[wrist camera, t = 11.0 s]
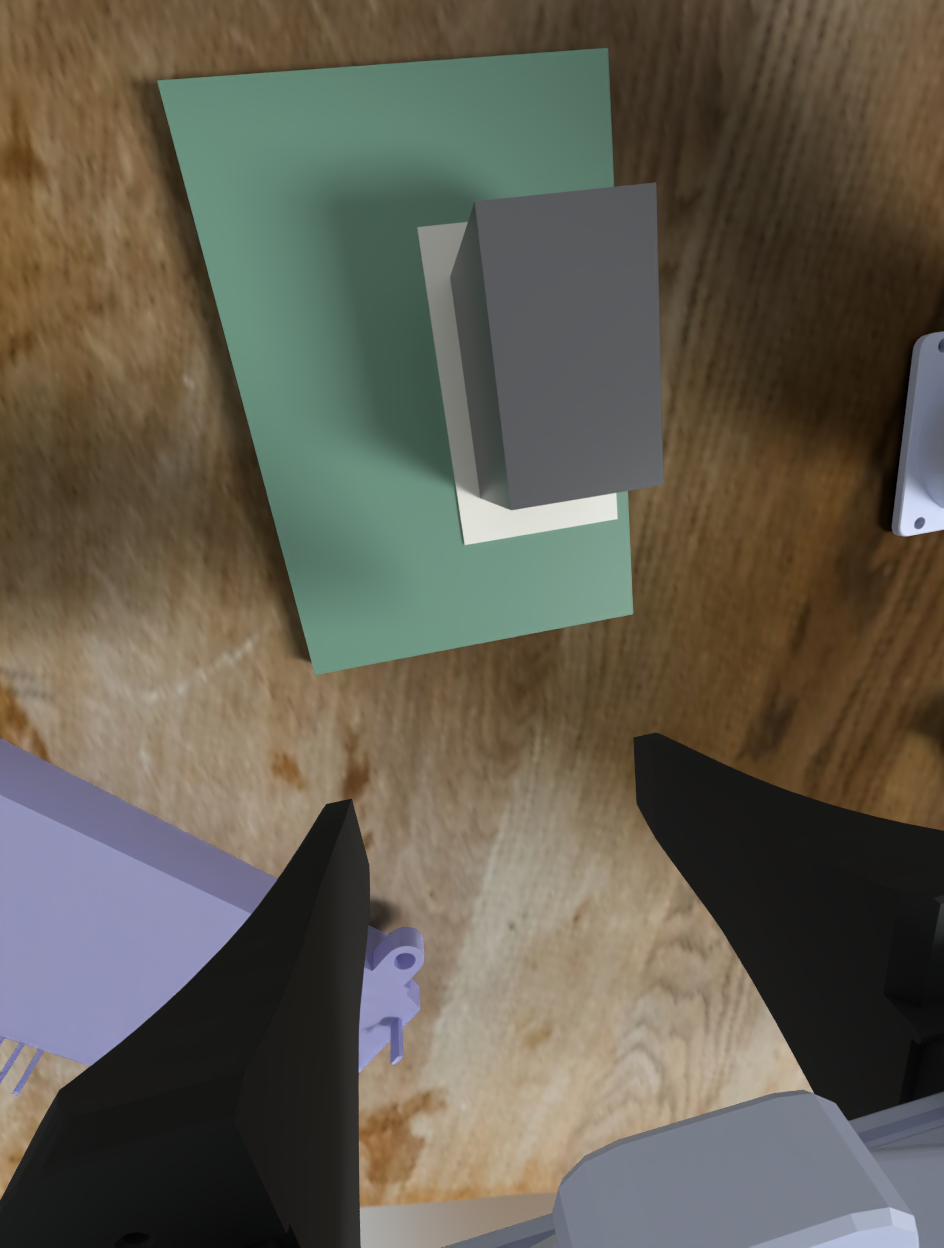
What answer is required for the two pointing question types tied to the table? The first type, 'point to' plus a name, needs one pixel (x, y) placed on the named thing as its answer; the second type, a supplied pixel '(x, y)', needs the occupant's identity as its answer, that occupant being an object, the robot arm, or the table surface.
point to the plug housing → (562, 344)
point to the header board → (391, 336)
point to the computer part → (132, 920)
